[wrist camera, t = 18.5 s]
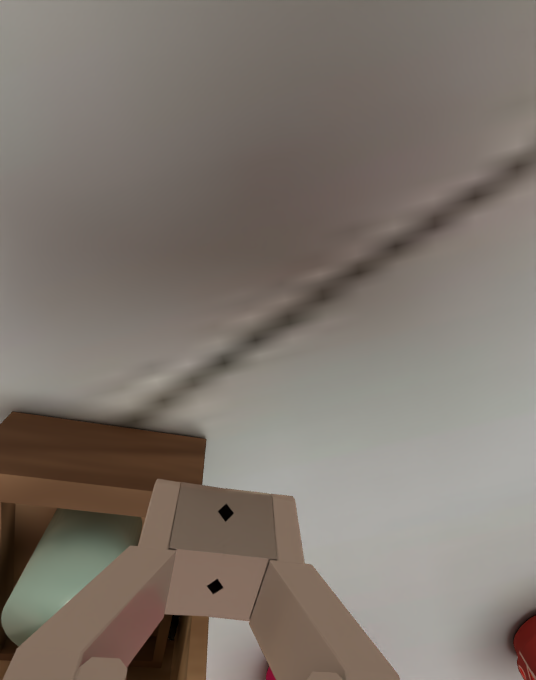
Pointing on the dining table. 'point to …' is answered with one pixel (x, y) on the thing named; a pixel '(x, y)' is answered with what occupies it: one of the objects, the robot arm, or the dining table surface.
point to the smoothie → (526, 649)
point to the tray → (81, 489)
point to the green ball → (65, 565)
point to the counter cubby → (173, 654)
